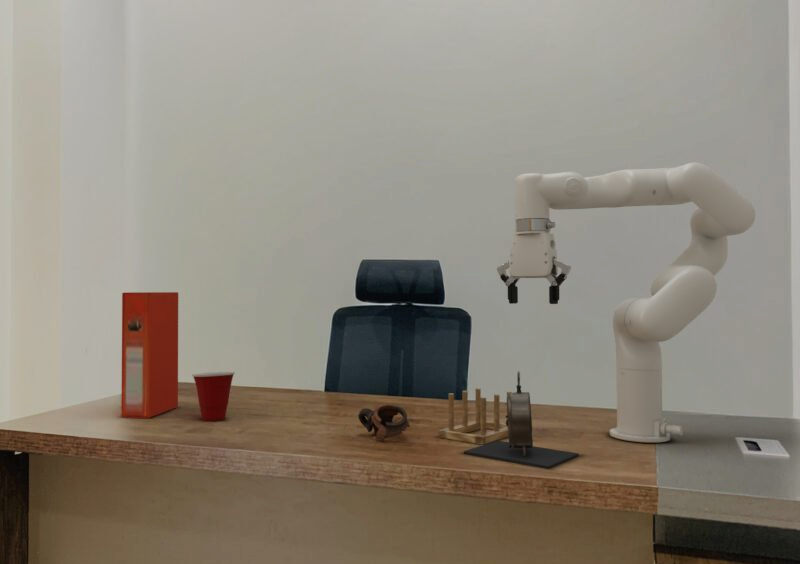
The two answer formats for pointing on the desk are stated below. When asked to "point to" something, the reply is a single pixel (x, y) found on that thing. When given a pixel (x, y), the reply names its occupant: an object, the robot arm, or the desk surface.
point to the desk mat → (533, 455)
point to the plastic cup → (213, 394)
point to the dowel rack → (480, 423)
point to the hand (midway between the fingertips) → (533, 303)
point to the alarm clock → (519, 419)
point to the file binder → (149, 353)
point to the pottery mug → (384, 420)
